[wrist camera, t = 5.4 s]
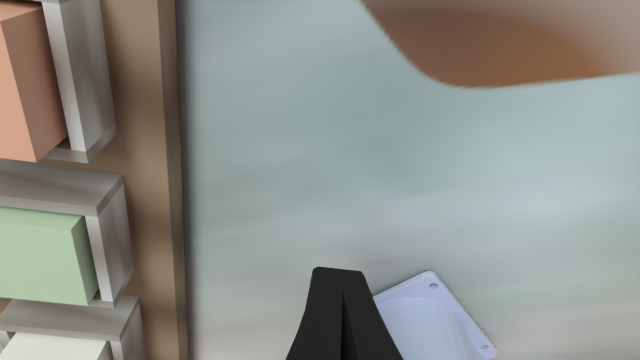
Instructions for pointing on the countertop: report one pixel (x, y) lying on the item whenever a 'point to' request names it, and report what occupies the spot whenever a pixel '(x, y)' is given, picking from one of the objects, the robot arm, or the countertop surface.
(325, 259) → the countertop surface
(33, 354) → the cream button
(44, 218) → the sage button
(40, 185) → the button console
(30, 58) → the terracotta button
